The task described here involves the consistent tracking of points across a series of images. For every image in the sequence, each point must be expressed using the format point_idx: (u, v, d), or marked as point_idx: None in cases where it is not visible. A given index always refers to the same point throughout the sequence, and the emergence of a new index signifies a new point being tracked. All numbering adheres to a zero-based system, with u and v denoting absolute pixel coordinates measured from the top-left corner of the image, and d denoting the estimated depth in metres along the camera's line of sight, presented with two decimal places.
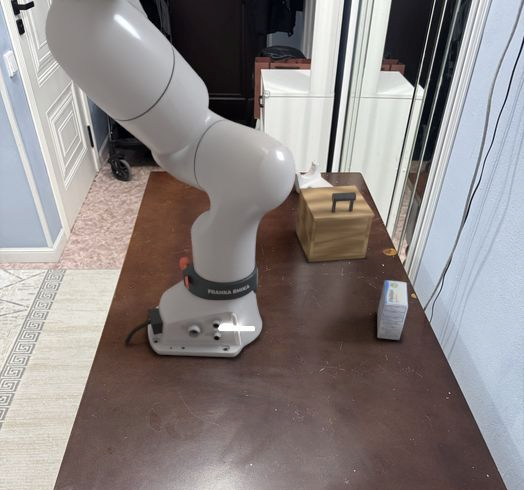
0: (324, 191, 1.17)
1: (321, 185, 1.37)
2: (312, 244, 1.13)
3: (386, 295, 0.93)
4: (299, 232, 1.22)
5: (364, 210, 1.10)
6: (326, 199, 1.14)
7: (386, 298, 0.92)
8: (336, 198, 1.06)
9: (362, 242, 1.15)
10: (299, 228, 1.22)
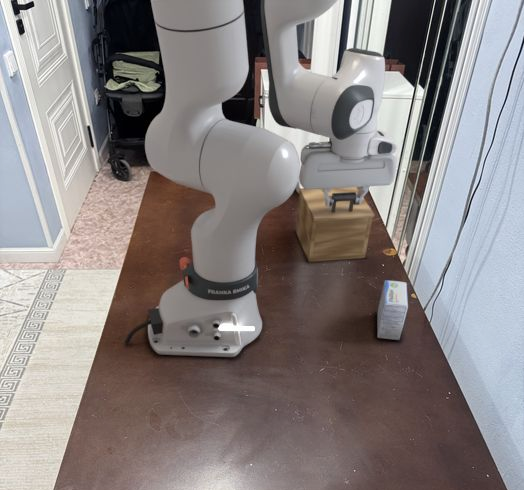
0: None
1: None
2: (312, 244, 1.13)
3: (386, 295, 0.93)
4: (299, 232, 1.22)
5: (364, 210, 1.10)
6: None
7: (386, 298, 0.92)
8: (336, 198, 1.06)
9: (362, 242, 1.15)
10: (299, 228, 1.22)
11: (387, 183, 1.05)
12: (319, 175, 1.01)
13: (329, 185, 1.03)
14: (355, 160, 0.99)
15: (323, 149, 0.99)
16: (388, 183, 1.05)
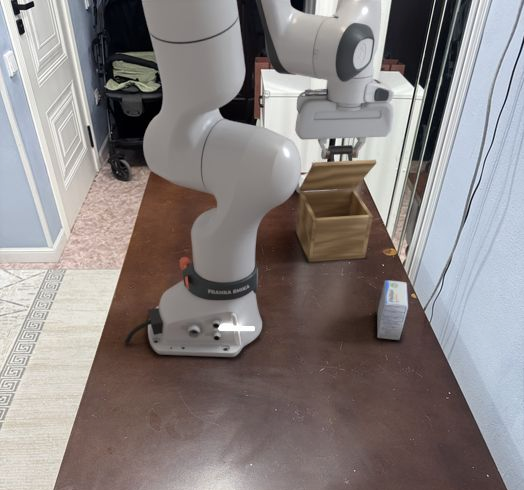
0: None
1: None
2: (312, 244, 1.13)
3: (386, 295, 0.93)
4: (299, 232, 1.22)
5: None
6: None
7: (386, 298, 0.92)
8: (332, 147, 1.06)
9: (362, 242, 1.15)
10: (299, 228, 1.22)
11: (384, 134, 1.04)
12: (315, 124, 1.01)
13: (325, 135, 1.02)
14: (351, 108, 0.98)
15: (319, 97, 0.98)
16: (385, 134, 1.04)
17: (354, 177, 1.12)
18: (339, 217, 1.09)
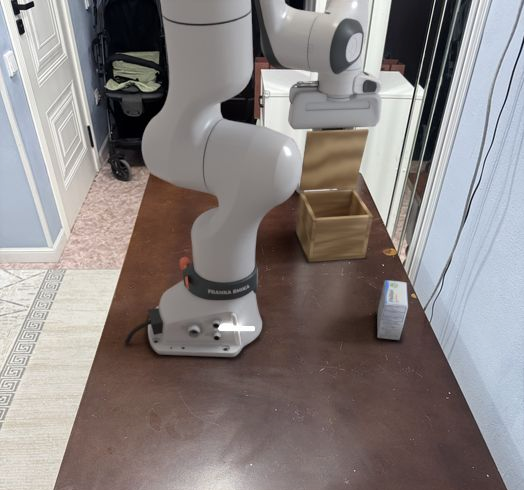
0: None
1: None
2: (312, 244, 1.13)
3: (386, 295, 0.93)
4: (299, 232, 1.22)
5: None
6: None
7: (386, 298, 0.92)
8: None
9: (362, 242, 1.15)
10: (299, 228, 1.22)
11: (373, 124, 1.09)
12: (306, 115, 1.06)
13: (317, 125, 1.08)
14: (341, 99, 1.03)
15: (310, 88, 1.03)
16: (373, 124, 1.09)
17: (351, 161, 1.13)
18: (339, 217, 1.09)
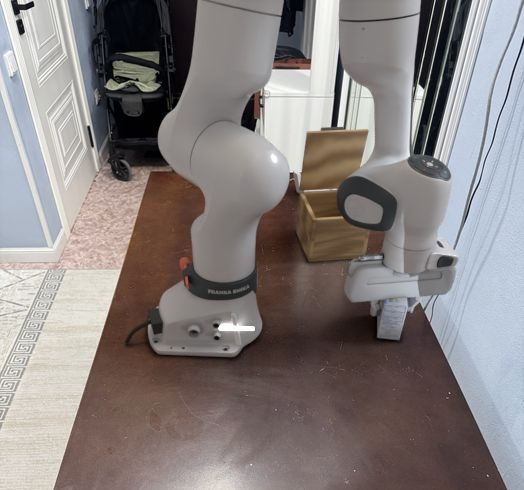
0: None
1: None
2: (312, 244, 1.13)
3: None
4: (299, 232, 1.22)
5: None
6: None
7: None
8: (324, 127, 1.10)
9: (362, 242, 1.15)
10: (299, 228, 1.22)
11: (443, 293, 0.93)
12: (368, 289, 0.89)
13: (379, 297, 0.91)
14: (410, 274, 0.87)
15: (374, 262, 0.87)
16: (444, 293, 0.93)
17: (351, 161, 1.13)
18: (339, 217, 1.09)
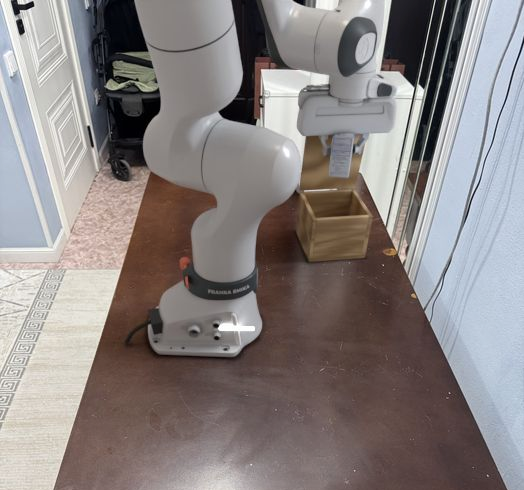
0: None
1: None
2: (312, 244, 1.13)
3: None
4: (299, 232, 1.22)
5: None
6: None
7: None
8: None
9: (362, 242, 1.15)
10: (299, 228, 1.22)
11: (387, 130, 1.02)
12: (316, 120, 0.99)
13: (327, 131, 1.01)
14: (354, 103, 0.96)
15: (321, 92, 0.97)
16: (388, 130, 1.03)
17: (351, 161, 1.14)
18: (339, 217, 1.09)
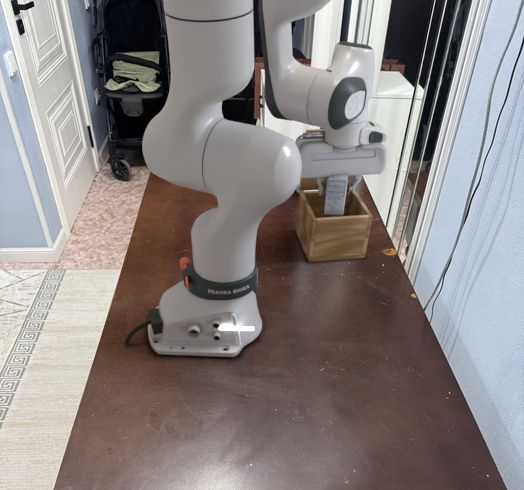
0: None
1: None
2: (312, 244, 1.13)
3: None
4: (299, 232, 1.22)
5: None
6: None
7: None
8: None
9: (362, 242, 1.15)
10: (299, 228, 1.22)
11: (378, 172, 1.09)
12: (312, 165, 1.05)
13: (322, 174, 1.07)
14: (347, 149, 1.03)
15: (316, 139, 1.03)
16: (379, 172, 1.09)
17: None
18: (339, 217, 1.09)
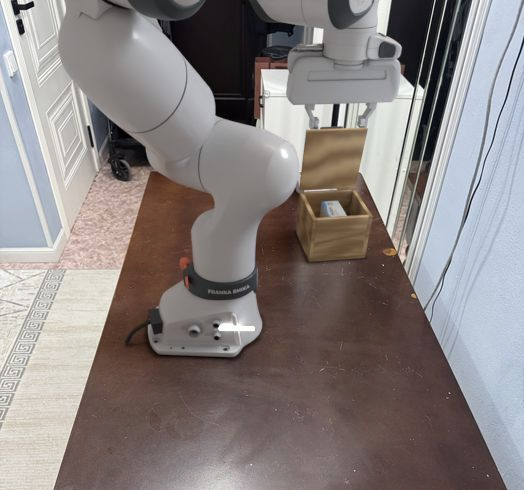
0: None
1: None
2: (312, 244, 1.13)
3: (327, 211, 1.14)
4: (299, 232, 1.22)
5: None
6: None
7: (328, 213, 1.14)
8: (323, 127, 1.11)
9: (362, 242, 1.15)
10: (299, 228, 1.22)
11: (389, 99, 0.90)
12: (309, 86, 0.86)
13: (321, 100, 0.88)
14: (352, 66, 0.84)
15: (314, 53, 0.84)
16: (390, 99, 0.90)
17: (350, 161, 1.14)
18: (339, 217, 1.09)
